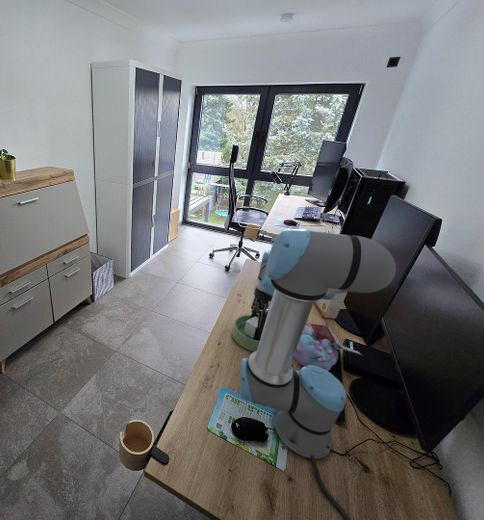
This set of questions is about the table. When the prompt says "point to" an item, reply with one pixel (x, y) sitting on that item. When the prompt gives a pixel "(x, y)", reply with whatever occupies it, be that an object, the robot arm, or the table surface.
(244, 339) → the bowl
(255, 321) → the white cube
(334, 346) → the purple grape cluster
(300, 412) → the robot arm
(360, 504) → the table surface
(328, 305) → the cracker box
